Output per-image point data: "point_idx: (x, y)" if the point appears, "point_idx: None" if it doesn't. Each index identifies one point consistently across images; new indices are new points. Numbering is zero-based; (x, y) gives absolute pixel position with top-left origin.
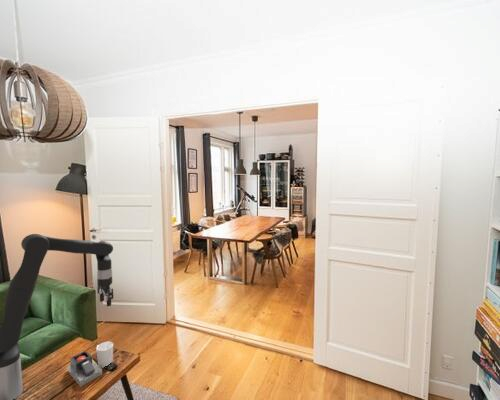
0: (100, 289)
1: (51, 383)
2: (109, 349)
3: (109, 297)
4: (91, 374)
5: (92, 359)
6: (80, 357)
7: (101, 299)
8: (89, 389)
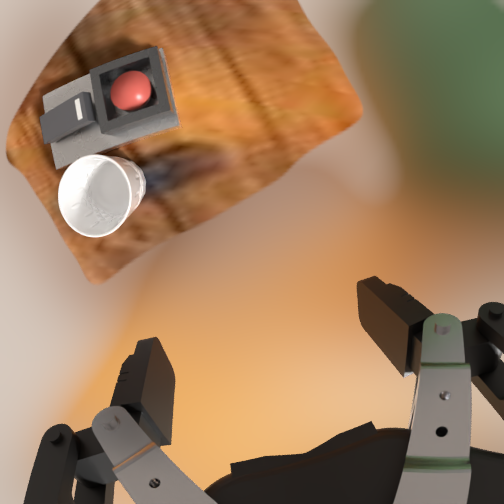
0: (425, 498)
1: (136, 14)
2: (64, 213)
3: (40, 469)
4: None
5: (137, 137)
6: (140, 87)
7: (373, 306)
8: (26, 127)
